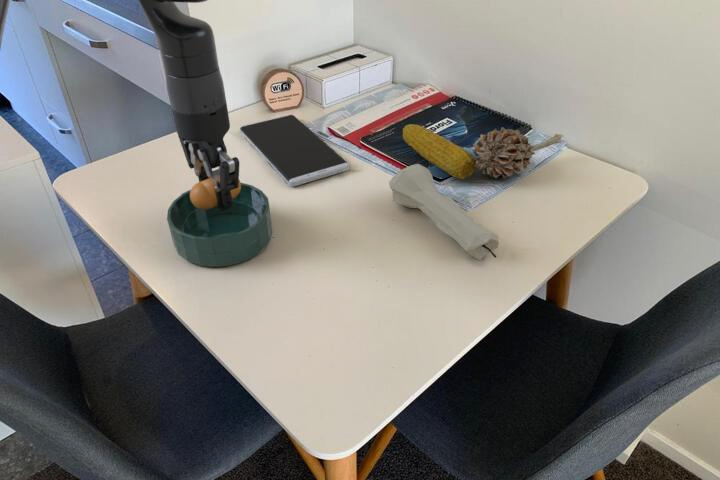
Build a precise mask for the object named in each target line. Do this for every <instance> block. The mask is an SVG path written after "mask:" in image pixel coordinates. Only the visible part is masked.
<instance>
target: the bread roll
mask: <svg viewBox="0 0 720 480" xmlns="http://www.w3.org/2000/svg"><path fill="white" fill-rule="evenodd" d="M218 181H219V183H220V176H218ZM240 182H241V180H240V179H239V185H238V188H236V189H233V190H231V196H232V199H233V198H235V197H236V196H238V194H239V193H240V190H241V183H242V182H241V183H240ZM190 190H191V191H190V199H191V202H192V203H193V205H194V206H196V207H197V208H199V209H203V210H207V209H211V208H213V207H215V206H218V203H217V198H216V193H215V187H214V184H213V182H212V179H211V178H208V179H206V180H203V181H201V182H199V181H198V182H196V183H195V184H194V185H193V186H192V187H191V189H190Z"/></svg>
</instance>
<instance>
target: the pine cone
mask: <svg viewBox="0 0 720 480" xmlns="http://www.w3.org/2000/svg"><path fill="white" fill-rule="evenodd" d="M479 136H480V138H479V139H476V141H477V142H475V143H472V146H473V147H474V148H473V149H471V150H470V152H471V153H472V154H474V156H473V158H474V161H475V168H478V169H479V170H478V171H479V172H482V174H483V175H489V177H491V178H493V177H494V178H495V179H498V178H499V176H502V179H506V178H507V177H512V176H514V175H515V174H520V173H521V170H523V169H524V170H527V169H528V166H531V165H532V163H531V160H530V159H532V158H533V157H532V156H533V155H536V151H539V150H543V149H545V148H548V147H550V146H553V145H555V144H558V143H559V144H563V141H562V137H563V134H562V133H558V134H557V133H554V135H553V136H552V137H550V138H547V139H545V140H544V141H542V142H538V143H536V144H533V145H532V143H531V142H529V137H528V136H526V135H524V134H521V132H520V131H519V130H518V129H516V130H514V129H512V128H507V129H506V128H505V127H503V126H502V127H501V129H500V130H498V129H497V128H494V129H493V130H492V131H489V132H487V134H482V133H481V134H480V135H479ZM470 152H469V153H470Z"/></svg>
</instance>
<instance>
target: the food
mask: <svg viewBox="0 0 720 480" xmlns="http://www.w3.org/2000/svg"><path fill="white" fill-rule="evenodd" d="M402 139H403V140H404V142H405V143H406V144H407V145H408V147H410V146H411V147H412V148H413V149H412V148H411V147H410V148H411V149H412V150H413V151H415V150H416V151H415V153H417V154H419V155H420V156H421V157H422V158H424V159H425V160H426V161H427V162H429V163H431V164H432V165H434V166H435V167H437V168H438V169H440V170H442V169H443V170H442V171H444V172H445V171H446V172H445V173H446V174H448V175H449V174H450V175H449V176H451V177H453V178H455V179H458V180H464V179H467V178H468V177H471V175H472V174H473V173H475V169H476V167H475V164H476V162H475V161H474V156H473V155H472V154H471V153H470V152H469V151H468V150H466V149H465V148H463V147H461V145H460V146H459V145H458V144H456V143H453V142H451V141H449V140H448V139H446V138H445V137H444V136H441V135H439V134H437V133H435V132H433V131H432V130H430V129H428V128H427V127H424V126H422V125H419V124H411V123H409V124H406V125H405V126H404V127H403V128H402Z"/></svg>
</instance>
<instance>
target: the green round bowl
mask: <svg viewBox="0 0 720 480" xmlns="http://www.w3.org/2000/svg"><path fill="white" fill-rule="evenodd" d="M240 183H241V190H240V193H239V194H238V196H236V197H235V198H233V199H232V202H233V205H232V207H230V208H228V209H226V210H224V211H222V210H220V209H219V208H218V206H215V207H213V208H211V209H207V210H203V209H199V208H197V207H196V206H194V205H193V203H192V202H191V199H190V191H191V189H189V190H187V191H185V192H183V193H181V194H179V196H178V197H176V198H175V199H174V200H173V201H172V202H171V204H170V206H169V207H168V209H167V214H166V221H167V225H168V228H169V232H170V235H171V240H172V242H173V246H174V248H175V251H176V252H177V254H178V255H179V256H180V257H181V258H182V259H184V260H185V261H187V262H188V263H191V264H195V265H198V266H201V267H212V268H213V267H215V268H220V267H226V266H234V265H237V264H239V263H243V262H246V261H249V260H250V259H252V258H253V257H255V256H256V255H258V254H260V253H261V252H262V251H264V249H265V248H266V247H267V246H268V245H269V244H270V241H271V239H272V236H273V225H272V216H271V207H270V202H269V197H268V196H267V195H266V194H265V192H264V191H262V190H261V189H260V188H258V187H256V186H254V185H252V184H249V183H245V182H241V181H240Z"/></svg>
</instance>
